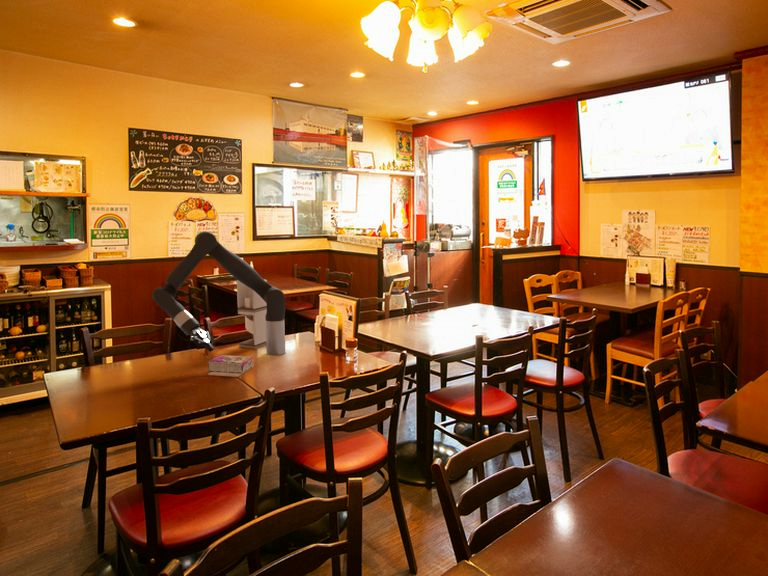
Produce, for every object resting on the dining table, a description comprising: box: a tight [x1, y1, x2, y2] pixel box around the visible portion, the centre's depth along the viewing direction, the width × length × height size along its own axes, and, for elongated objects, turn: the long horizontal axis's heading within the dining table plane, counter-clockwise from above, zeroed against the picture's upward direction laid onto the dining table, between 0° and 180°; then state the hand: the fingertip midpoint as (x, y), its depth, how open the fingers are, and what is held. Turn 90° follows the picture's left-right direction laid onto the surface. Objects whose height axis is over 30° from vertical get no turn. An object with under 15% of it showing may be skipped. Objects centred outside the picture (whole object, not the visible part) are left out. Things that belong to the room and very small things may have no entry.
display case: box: [236, 279, 268, 350], centre depth 282 cm, size 11×11×35 cm
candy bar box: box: [208, 354, 254, 374], centre depth 239 cm, size 11×5×16 cm
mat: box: [208, 364, 255, 378], centre depth 239 cm, size 16×14×1 cm
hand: (212, 350), depth 239 cm, fingers closed
